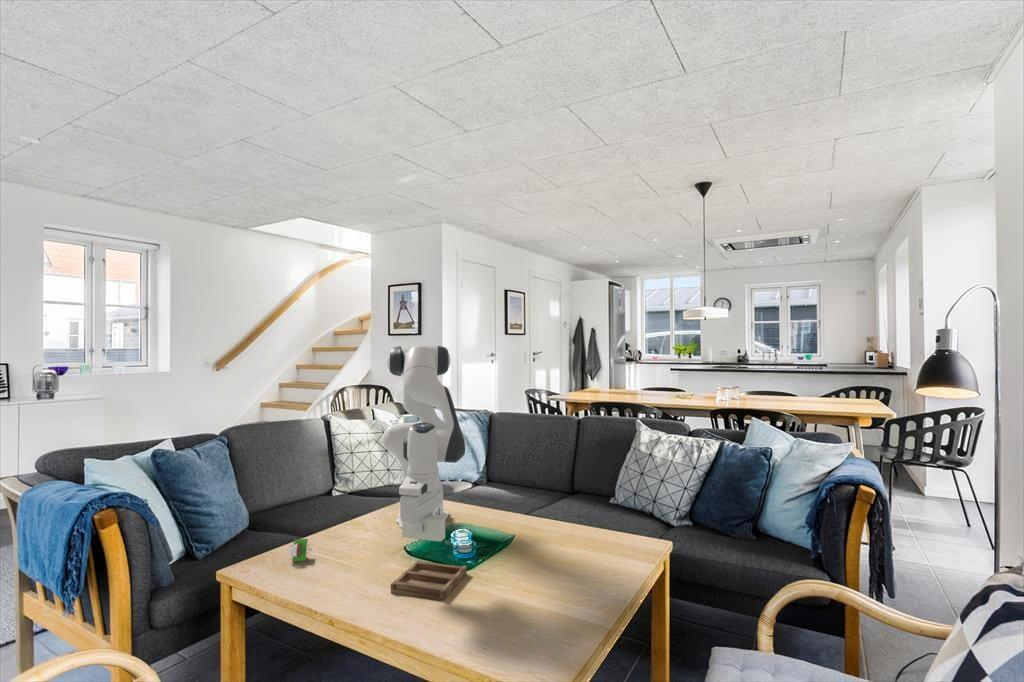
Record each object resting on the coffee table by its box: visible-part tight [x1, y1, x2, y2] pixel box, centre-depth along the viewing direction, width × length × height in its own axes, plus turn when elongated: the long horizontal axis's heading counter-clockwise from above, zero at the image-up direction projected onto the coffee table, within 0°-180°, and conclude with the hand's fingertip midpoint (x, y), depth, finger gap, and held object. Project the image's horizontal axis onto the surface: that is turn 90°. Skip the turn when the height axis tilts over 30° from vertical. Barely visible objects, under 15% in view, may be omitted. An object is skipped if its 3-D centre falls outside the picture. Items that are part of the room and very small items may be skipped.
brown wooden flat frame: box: [390, 559, 468, 602], centre depth 159 cm, size 17×16×2 cm
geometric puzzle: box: [287, 538, 313, 562], centre depth 176 cm, size 7×7×8 cm
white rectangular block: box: [401, 515, 446, 543], centre depth 155 cm, size 3×12×6 cm, turn 73°
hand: (423, 529), depth 155 cm, fingers closed on white rectangular block, 3 cm apart
